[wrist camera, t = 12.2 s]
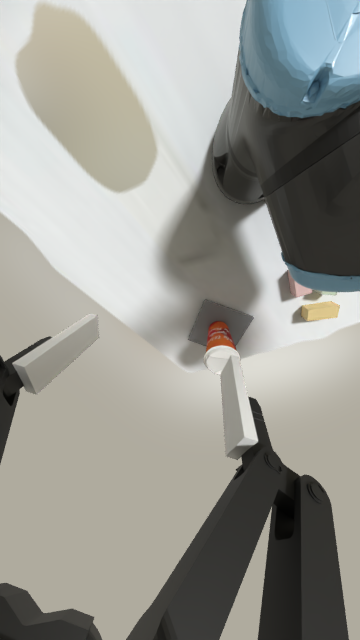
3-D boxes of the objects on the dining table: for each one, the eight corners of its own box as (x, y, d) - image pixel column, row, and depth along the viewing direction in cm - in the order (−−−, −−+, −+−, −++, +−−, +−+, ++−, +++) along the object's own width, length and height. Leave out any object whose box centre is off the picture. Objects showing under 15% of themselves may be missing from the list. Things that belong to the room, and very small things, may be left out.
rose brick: (287, 270, 35) (293, 272, 32) (302, 264, 34) (309, 266, 32) (290, 293, 37) (296, 297, 35) (304, 288, 36) (312, 292, 34)
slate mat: (204, 299, 41) (204, 300, 41) (253, 316, 41) (253, 317, 41) (188, 338, 48) (188, 339, 48) (229, 352, 48) (230, 354, 48)
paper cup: (230, 315, 42) (239, 347, 29) (233, 338, 45) (243, 375, 33) (201, 320, 44) (199, 352, 31) (207, 341, 47) (207, 378, 35)
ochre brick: (300, 315, 40) (307, 321, 37) (301, 305, 38) (308, 310, 36) (328, 311, 38) (337, 317, 35) (330, 300, 37) (339, 305, 34)
